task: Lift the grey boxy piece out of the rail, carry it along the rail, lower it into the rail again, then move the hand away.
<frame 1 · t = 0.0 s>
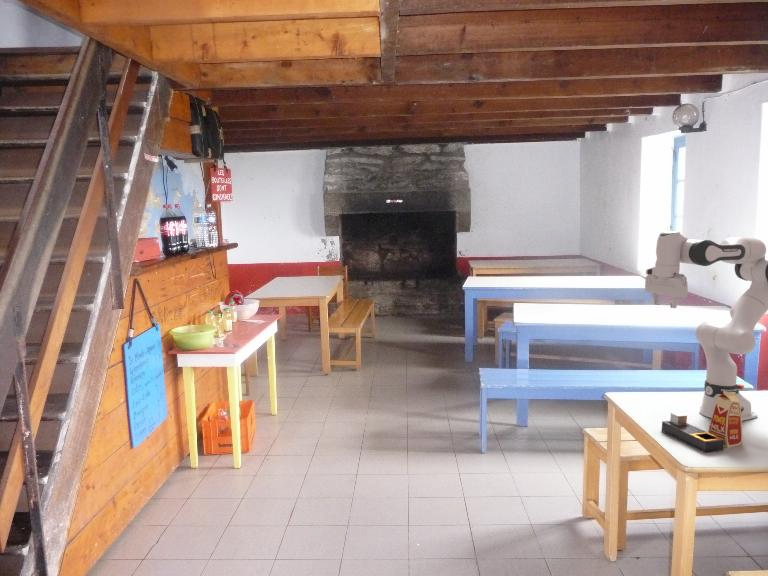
hand: (664, 306, 241), 48 cm above the table, fingers open, 8 cm apart
rail: (691, 440, 226), on the table
milk carton: (724, 442, 225), on the table
grey boxy piece: (677, 434, 233), resting in rail
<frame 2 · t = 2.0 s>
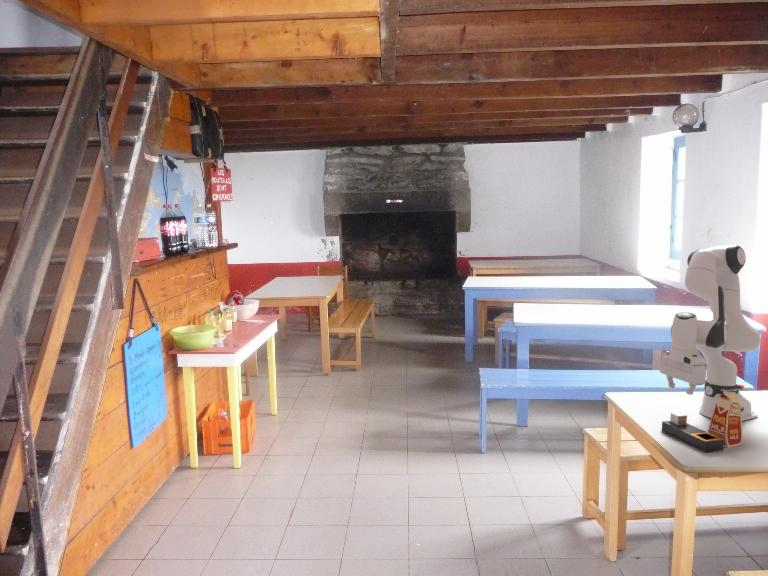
hand: (680, 390, 230), 17 cm above the table, fingers open, 8 cm apart
nothing on the table moved.
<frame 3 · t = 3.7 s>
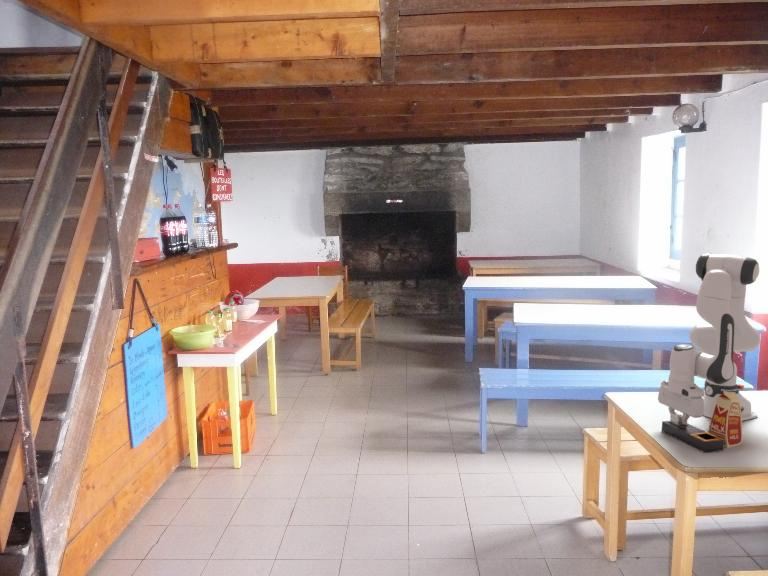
hand: (678, 421, 232), 5 cm above the table, fingers closed on grey boxy piece, 4 cm apart
grey boxy piece: (677, 434, 233), resting in rail, touching gripper
everything else where it was.
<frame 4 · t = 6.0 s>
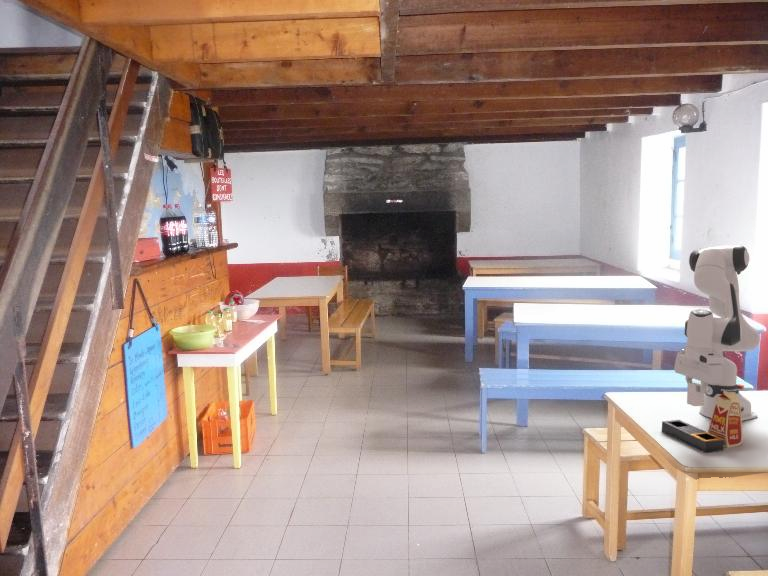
hand: (696, 390, 222), 20 cm above the table, fingers closed on grey boxy piece, 4 cm apart
grey boxy piece: (695, 404, 223), point 15 cm above the table, touching gripper
everything else where it was.
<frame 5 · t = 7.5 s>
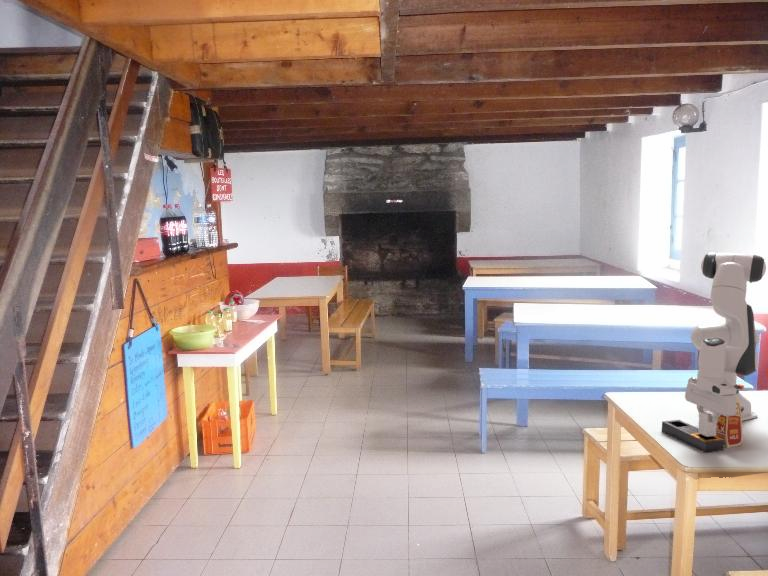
hand: (707, 420, 218), 10 cm above the table, fingers closed on grey boxy piece, 4 cm apart
grey boxy piece: (707, 434, 218), point 5 cm above the table, touching gripper
everything else where it was.
when the fingers open (7 cm above the table, at t = 8.6 s): grey boxy piece drops 1 cm, resting in rail.
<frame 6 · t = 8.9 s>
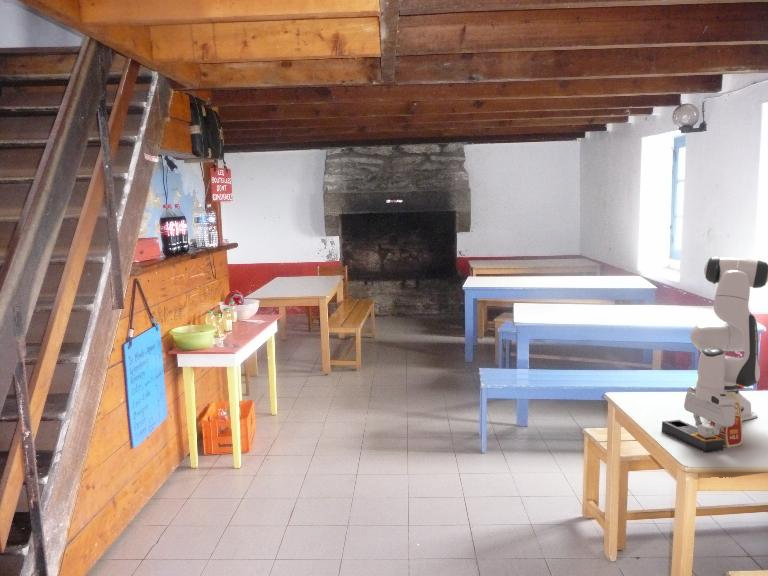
hand: (706, 430, 219), 7 cm above the table, fingers open, 6 cm apart
grey boxy piece: (704, 447, 220), resting in rail
everything else where it was.
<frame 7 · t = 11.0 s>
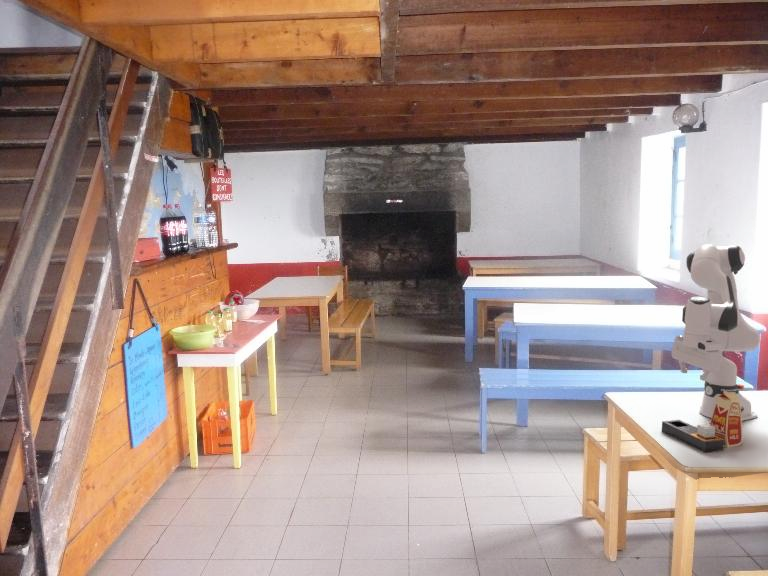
hand: (693, 376, 225), 24 cm above the table, fingers open, 8 cm apart
nothing on the table moved.
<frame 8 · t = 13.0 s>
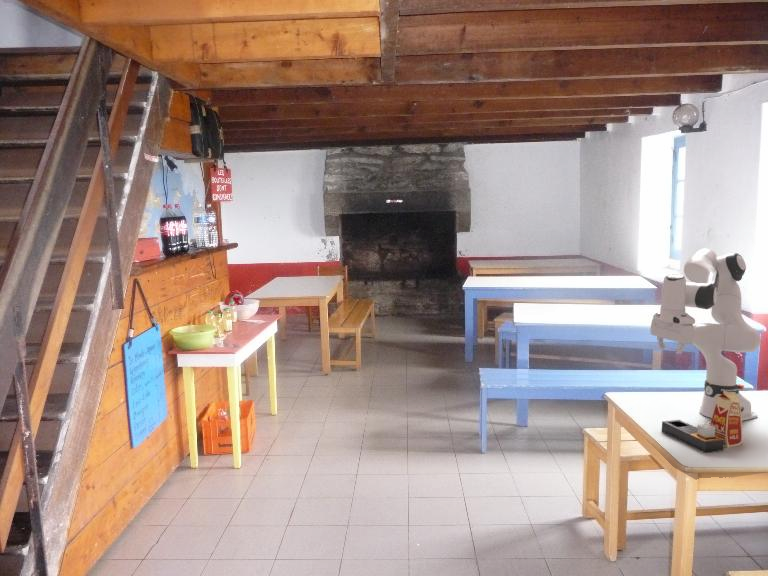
hand: (670, 350, 237), 31 cm above the table, fingers open, 8 cm apart
nothing on the table moved.
at the end: grey boxy piece 0.4 cm from the target spot on the rail, point 0.0 cm above the rail's base; grey boxy piece tilted 0°; the gripper is holding nothing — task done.
